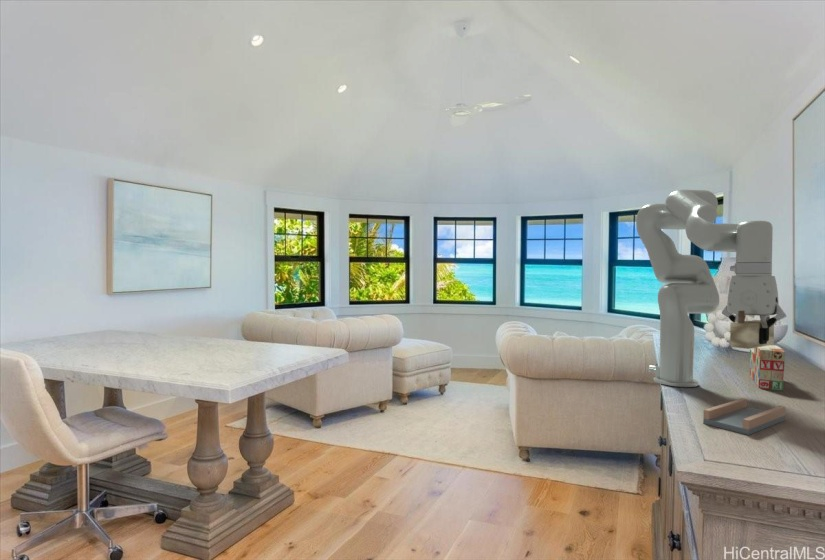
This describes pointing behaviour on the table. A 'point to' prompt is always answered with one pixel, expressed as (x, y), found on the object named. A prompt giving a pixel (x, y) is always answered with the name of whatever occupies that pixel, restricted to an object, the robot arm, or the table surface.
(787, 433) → the table surface
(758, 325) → the tapered cream block
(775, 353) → the stack of blocks
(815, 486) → the table surface
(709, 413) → the jig cradle
